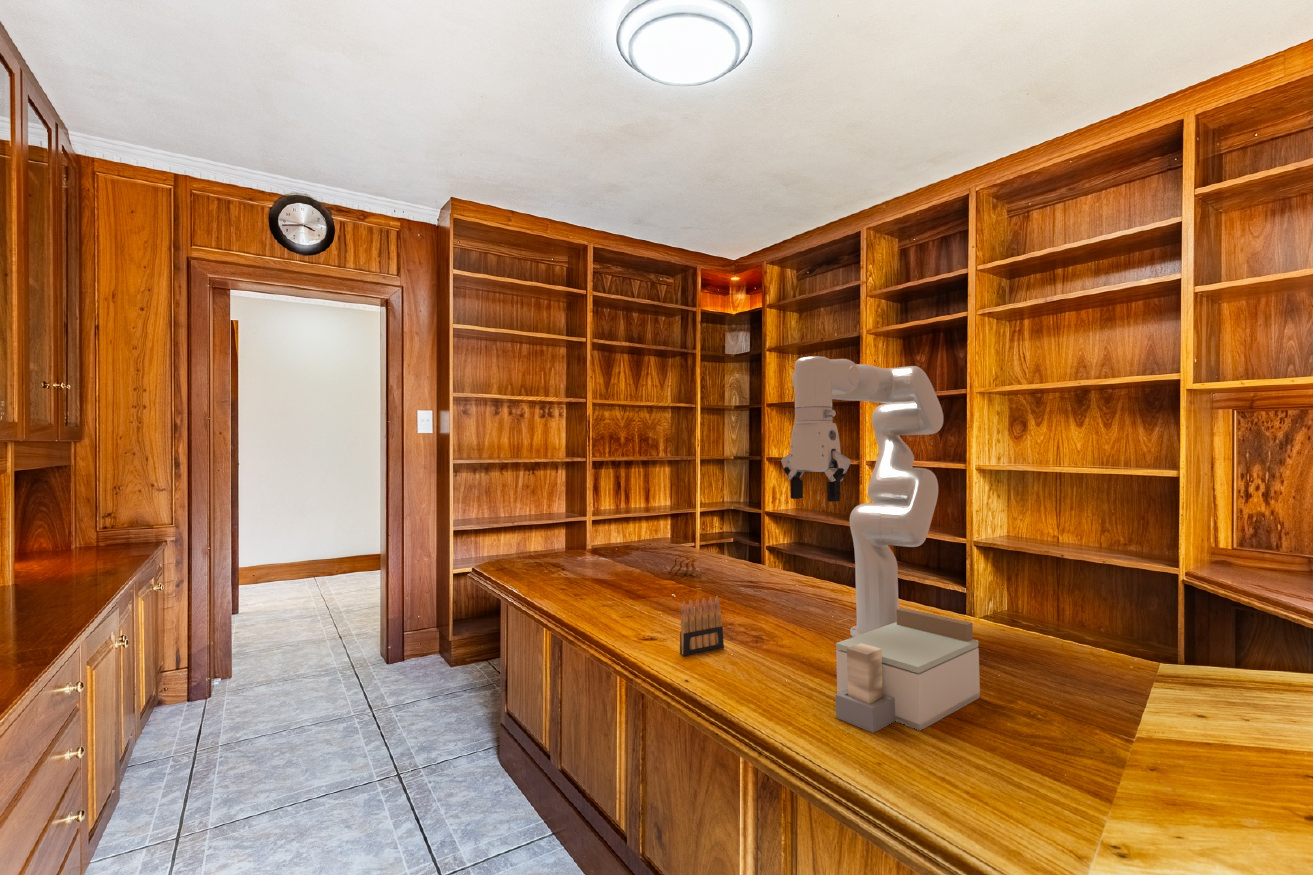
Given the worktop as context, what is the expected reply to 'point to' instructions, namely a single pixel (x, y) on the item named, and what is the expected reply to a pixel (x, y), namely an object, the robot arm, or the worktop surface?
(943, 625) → the toolbox lid
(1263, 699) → the worktop surface
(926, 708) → the toolbox
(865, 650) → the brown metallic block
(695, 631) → the ammunition clip
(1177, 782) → the worktop surface
